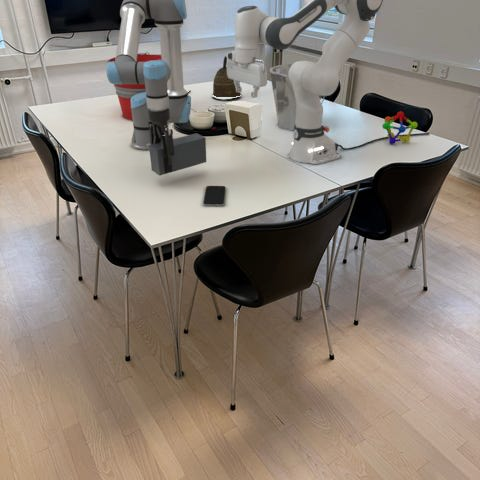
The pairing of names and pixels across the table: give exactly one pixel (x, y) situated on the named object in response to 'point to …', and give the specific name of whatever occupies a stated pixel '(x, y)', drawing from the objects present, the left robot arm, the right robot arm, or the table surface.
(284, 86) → the bucket
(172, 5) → the left robot arm
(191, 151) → the box
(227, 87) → the bell
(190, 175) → the table surface
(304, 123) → the right robot arm
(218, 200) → the smartphone
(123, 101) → the bucket
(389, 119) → the educational toy
